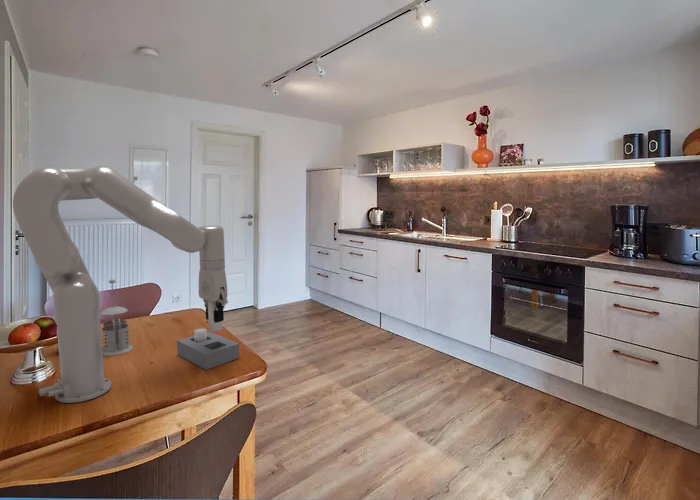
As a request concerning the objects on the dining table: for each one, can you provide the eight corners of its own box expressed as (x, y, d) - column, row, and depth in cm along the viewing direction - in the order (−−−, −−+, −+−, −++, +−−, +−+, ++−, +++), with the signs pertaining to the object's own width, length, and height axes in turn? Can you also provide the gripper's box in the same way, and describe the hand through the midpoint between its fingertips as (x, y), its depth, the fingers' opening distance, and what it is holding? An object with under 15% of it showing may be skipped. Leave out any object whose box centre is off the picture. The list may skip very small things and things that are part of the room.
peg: (213, 332, 124) (211, 301, 123) (206, 329, 127) (205, 299, 126) (224, 329, 127) (223, 299, 126) (217, 326, 130) (216, 297, 129)
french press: (130, 342, 143) (126, 275, 139) (135, 352, 133) (131, 281, 130) (99, 348, 137) (93, 278, 134) (101, 359, 128) (96, 284, 124)
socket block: (206, 369, 121) (205, 345, 120) (177, 354, 132) (176, 331, 131) (239, 358, 130) (238, 335, 129) (210, 344, 141) (209, 323, 140)
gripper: (188, 263, 127) (190, 317, 129) (216, 269, 116) (218, 328, 118) (209, 260, 132) (211, 312, 135) (238, 266, 122) (239, 322, 124)
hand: (214, 319), depth 127 cm, fingers closed on peg, 4 cm apart
